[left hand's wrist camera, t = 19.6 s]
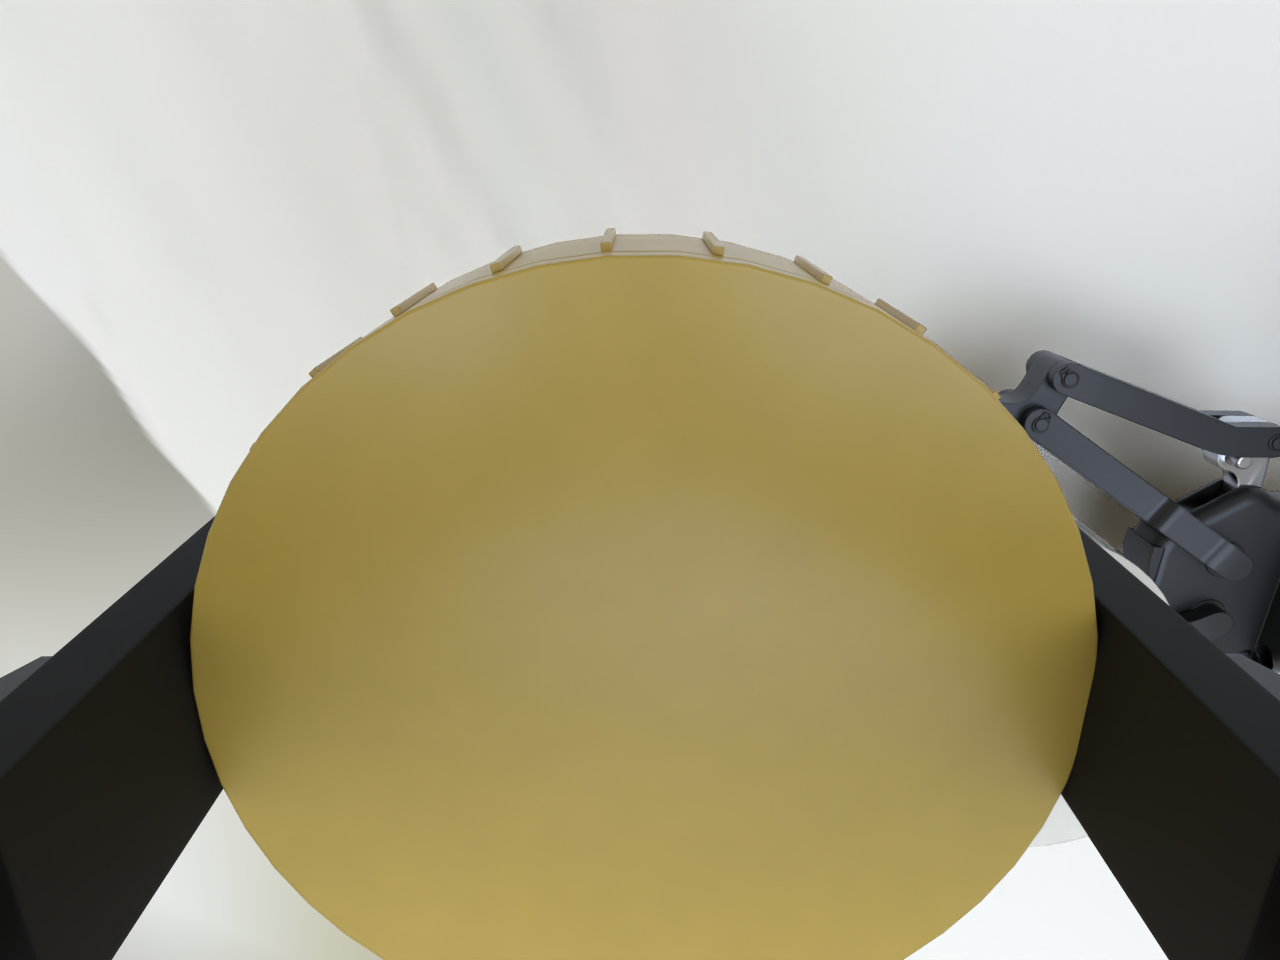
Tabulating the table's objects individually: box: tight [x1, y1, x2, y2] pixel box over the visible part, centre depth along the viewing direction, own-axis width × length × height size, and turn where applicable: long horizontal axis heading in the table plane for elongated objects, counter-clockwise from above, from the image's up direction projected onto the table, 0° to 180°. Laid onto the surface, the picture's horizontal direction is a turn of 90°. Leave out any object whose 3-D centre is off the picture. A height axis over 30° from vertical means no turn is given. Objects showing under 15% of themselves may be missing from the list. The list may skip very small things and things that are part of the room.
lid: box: [190, 228, 1098, 960], centre depth 11 cm, size 11×11×2 cm
